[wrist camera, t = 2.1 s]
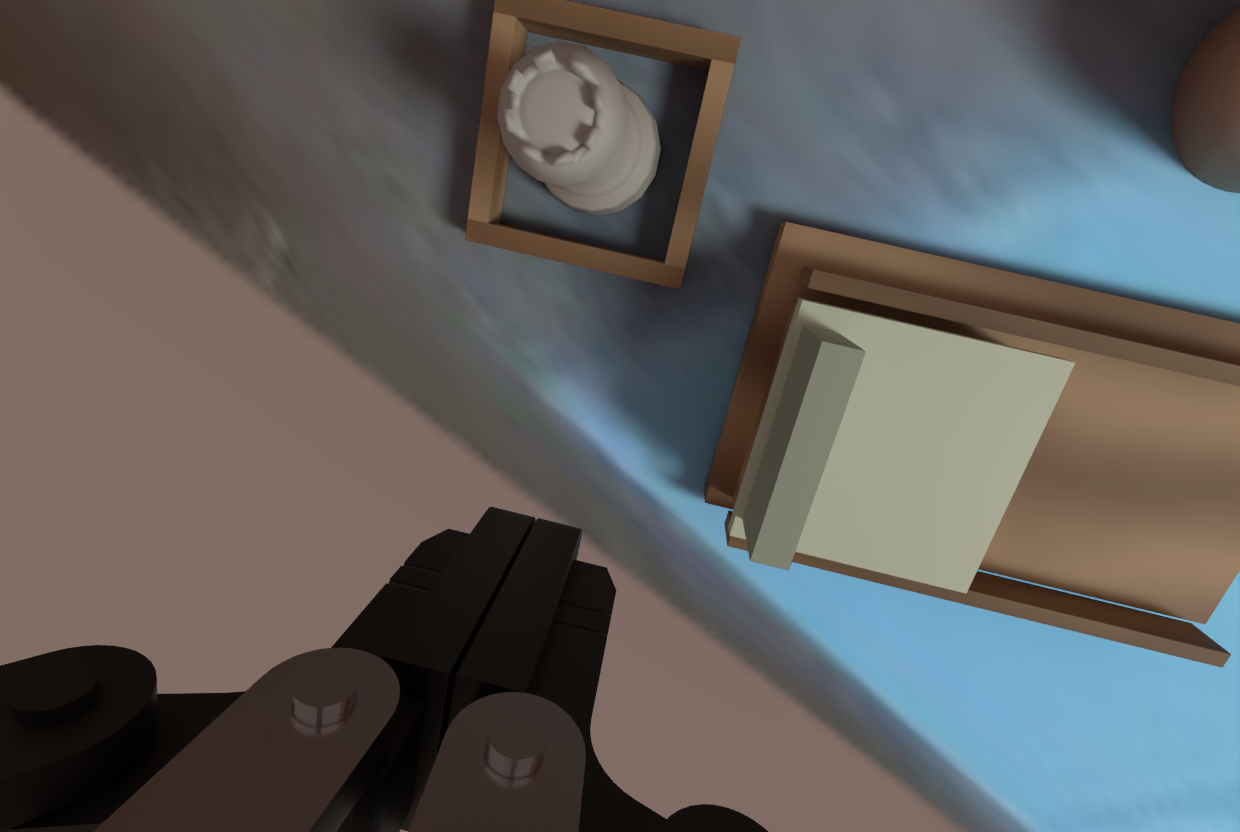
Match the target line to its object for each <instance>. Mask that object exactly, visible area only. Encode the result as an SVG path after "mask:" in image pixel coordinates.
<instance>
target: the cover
mask: <svg viewBox="0 0 1240 832" xmlns="http://www.w3.org/2000/svg"><path fill="white" fill-rule="evenodd" d="M1074 365H1075V362H1072V361H1069V360H1066V359H1063V358H1060V357H1055V356H1051V355H1047V354H1042V353H1038V352H1033V351H1029V350H1025V349H1020V348H1016V347H1012V346H1007V345H1003V344H998V343H994V342H990V341H985V340H981V339H977V338H972V337H968V336H964V335H959V334H955V333H950V332H946V331H942V330H937V329H933V328H929V327H924V326H920V325H915V324H911V323H907V322H902V321H898V320H894V319H889V318H885V317H881V316H876V315H872V314H867V313H863V312H859V311H854V310H850V309H846V308H841V307H837V306H833V305H828V304H824V303H819V302H815V301H811V300H806V299H802V298H798V301H797V304H796V308H795V311H794V314H793V317H792V321H791V324H790V327H789V330H788V334H787V337H786V340H785V343H784V347H783V350H782V353H781V356H780V360H779V363H778V366H777V369H776V373H775V376H774V379H773V382H772V386H771V389H770V392H769V395H768V399H767V402H766V405H765V408H764V412H763V415H762V418H761V421H760V425H759V428H758V431H757V434H756V438H755V441H754V444H753V447H752V451H751V454H750V457H749V460H748V464H747V467H746V470H745V473H744V477H743V480H742V483H741V486H740V490H739V493H738V496H737V499H736V503H735V506H734V509H733V512H732V516H731V519H730V522H729V525H728V528H729V535H730V536H733V537H737V538H741V539H746V542H747V547H748V552H749V557H750V561H752V562H756V563H760V564H765V565H769V566H773V567H777V568H781V569H785V570H789V568H790V565H791V562H792V559H793V556H794V554H795V552H799V553H803V554H807V555H811V556H815V557H819V558H823V559H827V560H831V561H835V562H839V563H843V564H848V565H852V566H856V567H860V568H864V569H868V570H872V571H876V572H880V573H884V574H888V575H892V576H896V577H901V578H905V579H909V580H913V581H917V582H921V583H925V584H929V585H933V586H937V587H941V588H945V589H950V590H954V591H958V592H962V593H967V591H968V589H969V587H970V585H971V583H972V581H973V579H974V577H975V574H976V572H977V570H978V568H979V566H980V564H981V562H982V560H983V557H984V555H985V553H986V551H987V549H988V547H989V545H990V543H991V541H992V538H993V536H994V534H995V532H996V530H997V528H998V526H999V524H1000V521H1001V519H1002V517H1003V515H1004V513H1005V511H1006V509H1007V507H1008V505H1009V502H1010V500H1011V498H1012V496H1013V494H1014V492H1015V490H1016V488H1017V485H1018V483H1019V481H1020V479H1021V477H1022V475H1023V473H1024V471H1025V469H1026V466H1027V464H1028V462H1029V460H1030V458H1031V456H1032V454H1033V452H1034V449H1035V447H1036V445H1037V443H1038V441H1039V439H1040V437H1041V435H1042V433H1043V430H1044V428H1045V426H1046V424H1047V422H1048V420H1049V418H1050V416H1051V413H1052V411H1053V409H1054V407H1055V405H1056V403H1057V401H1058V399H1059V397H1060V394H1061V392H1062V390H1063V388H1064V386H1065V384H1066V382H1067V380H1068V377H1069V375H1070V373H1071V371H1072V369H1073V367H1074Z"/></svg>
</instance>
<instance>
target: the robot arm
mask: <svg viewBox="0 0 1240 832" xmlns="http://www.w3.org/2000/svg"><path fill="white" fill-rule="evenodd" d="M581 535H582V529H580V528H576V527H572V526H568V525H564V524H560V523H556V522H552V521H548V520H544V519H540V518H538V519H537V521H536V520H535V517H531V516H527V515H522V514H518V513H515V512H510V511H507V510H502V509H498V508H494V507H490V508H488V510H487V511H486V512H485V514H484V515H483V516H482V518H481V519H480V521H479V522H478V523H477V525H476V526H475V528H474V529H473V530H472V532H471V533H470V534H468V533H464V532H460V531H455V530H451V529H447V530H445V531H443V532H441V533H439V534H437V535H435V536H433V537H431V538H429V539H427V540H425V541H423V542H421V544H420V545H419V546H418V547H417V548H416V549H415V550H414V552H413V553H412V554H411V555H410V556H409V557H408V559H407V560H406V561H405V563H404V566H401V567H400V568H399V569H398V570H397V571H396V573H395V574H394V575H393V576H392V577H391V578H390V581H389V584H387V583H386V585H384V587H383V588H382V589H381V590H380V591H379V592H378V594H377V595H376V596H375V597H374V598H373V599H372V601H371V602H370V603H369V604H368V605H367V606H366V608H365V609H364V610H363V611H362V612H361V613H360V615H359V616H358V617H357V618H356V619H355V620H354V622H353V623H352V624H351V625H350V626H349V627H348V629H347V630H346V631H345V632H344V633H343V634H342V636H341V637H340V638H339V639H338V640H337V641H336V643H335V644H334V645H333V646H332V647H331V648H326V649H319V650H314V651H310V652H306V653H303V654H300V655H297V656H294V657H292V658H290V659H288V660H286V661H283V662H282V663H280V664H278V665H277V666H275V667H273V668H272V669H271V670H269V671H268V672H267V673H266V674H264V675H263V676H262V677H261V678H260V679H259V680H258V681H257V682H255V683H254V684H253V685H252V686H251V687H250V688H249V689H248V690H247V691H244V692H232V693H192V694H157V677H156V671H155V668H154V666H153V664H152V662H151V661H150V660H148V659H147V658H146V657H145V656H144V655H142V654H140V653H138V652H137V651H134V650H131V649H127V648H123V647H117V646H105V645H93V646H81V647H74V648H67V649H63V650H58V651H54V652H50V653H46V654H42V655H38V656H35V657H31V658H27V659H24V660H20V661H16V662H13V663H9V664H5V665H2V666H0V832H399V831H400V829H402V830H405V831H408V832H768V831H767V830H766V829H765V828H763V827H762V826H761V825H759V824H758V823H757V822H755V821H754V820H752V819H751V818H749V817H747V816H745V815H743V814H741V813H740V812H737V811H734V810H732V809H729V808H726V807H722V806H717V805H705V804H701V805H694V806H689V807H686V808H683V809H681V810H679V811H677V812H676V813H674V814H672V815H671V816H670V817H669V818H668V819H665V818H664V817H662V816H661V815H659V814H657V813H656V812H654V811H652V810H651V809H649V808H648V807H646V806H644V805H643V804H641V803H640V802H638V801H636V800H635V799H633V798H632V797H631V796H629V795H628V794H626V793H625V792H623V791H622V790H621V789H620V788H619V787H618V786H617V785H616V784H615V783H614V782H613V781H612V780H611V779H610V777H609V776H608V775H607V774H606V773H605V771H604V770H603V768H602V766H601V765H600V763H599V762H598V759H597V757H596V755H595V752H594V750H593V747H592V742H591V735H590V725H591V717H592V712H593V707H594V702H595V697H596V692H597V686H598V681H599V676H600V671H601V666H602V661H603V655H604V650H605V645H606V640H607V635H608V630H609V624H610V620H611V614H612V609H613V604H614V599H615V594H616V589H615V586H614V584H613V582H612V579H611V577H610V575H609V572H608V570H607V568H605V567H601V566H597V565H593V564H589V563H585V562H581V561H577V560H576V559H577V554H578V550H579V545H580V541H581Z"/></svg>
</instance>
